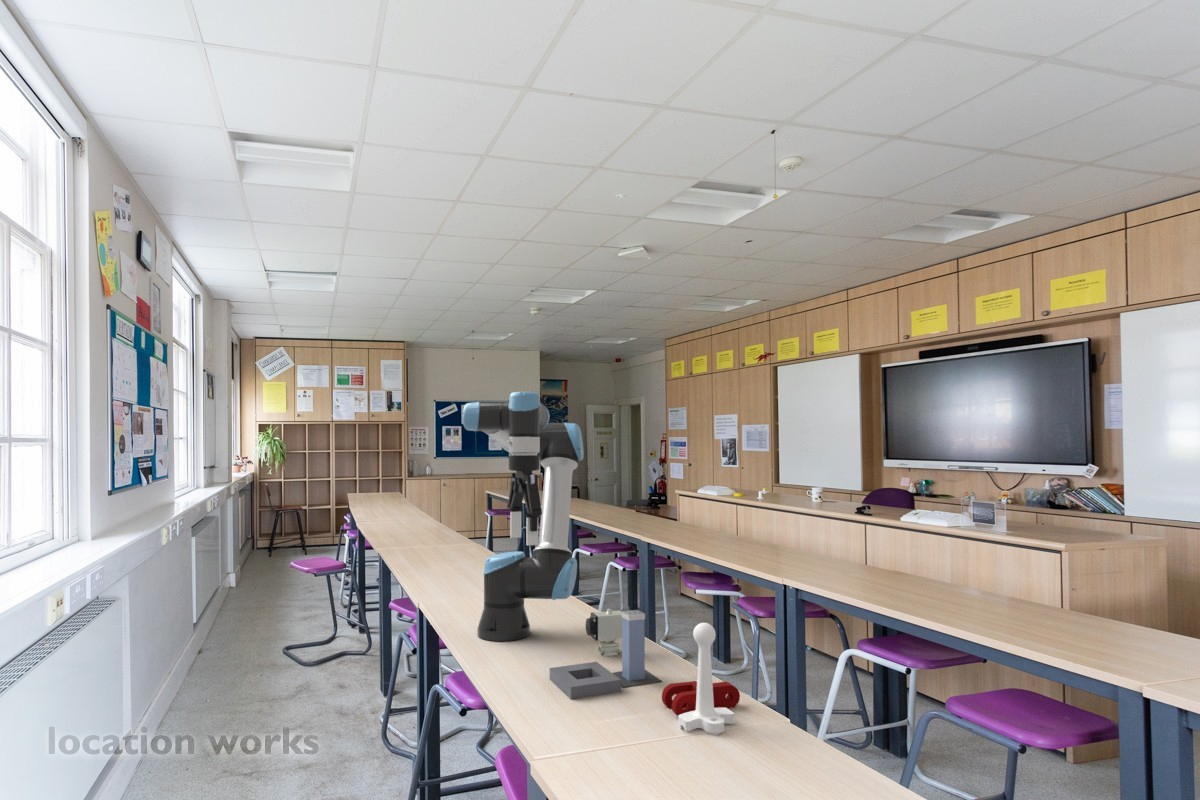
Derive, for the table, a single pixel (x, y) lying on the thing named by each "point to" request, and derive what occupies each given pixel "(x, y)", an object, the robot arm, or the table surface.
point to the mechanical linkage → (688, 696)
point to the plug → (633, 645)
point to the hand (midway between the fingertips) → (523, 541)
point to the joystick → (705, 690)
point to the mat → (648, 680)
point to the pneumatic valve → (606, 630)
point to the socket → (585, 680)
